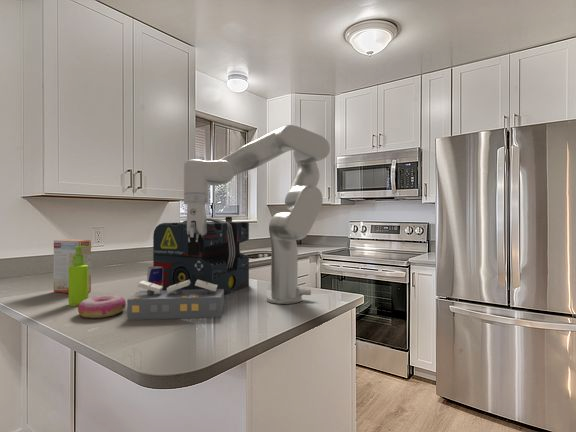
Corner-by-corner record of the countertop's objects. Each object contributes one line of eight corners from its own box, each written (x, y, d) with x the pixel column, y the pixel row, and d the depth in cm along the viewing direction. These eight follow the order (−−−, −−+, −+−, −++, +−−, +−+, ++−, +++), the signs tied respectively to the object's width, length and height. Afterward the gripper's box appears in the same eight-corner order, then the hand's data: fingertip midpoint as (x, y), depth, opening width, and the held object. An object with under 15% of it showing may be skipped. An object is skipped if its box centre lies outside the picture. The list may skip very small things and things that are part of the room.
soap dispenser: (94, 303, 124) (93, 245, 124) (71, 306, 119) (71, 247, 119) (88, 300, 128) (88, 244, 128) (66, 303, 123) (66, 246, 123)
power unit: (152, 293, 140) (152, 217, 140) (196, 281, 165) (196, 216, 165) (212, 300, 129) (212, 217, 129) (249, 286, 154) (249, 216, 154)
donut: (108, 306, 120) (108, 291, 120) (135, 311, 114) (135, 296, 114) (68, 316, 108) (68, 300, 108) (95, 322, 102) (95, 305, 102)
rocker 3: (216, 288, 115) (217, 284, 115) (215, 291, 111) (216, 287, 111) (196, 282, 114) (197, 278, 114) (194, 285, 110) (196, 281, 110)
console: (223, 306, 119) (223, 284, 119) (220, 317, 107) (220, 292, 107) (140, 309, 116) (140, 286, 116) (127, 320, 104) (127, 294, 104)
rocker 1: (162, 290, 113) (163, 285, 113) (158, 292, 109) (160, 288, 109) (141, 284, 112) (142, 279, 112) (137, 286, 108) (139, 282, 109)
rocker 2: (190, 282, 114) (189, 279, 114) (188, 285, 110) (187, 281, 110) (170, 289, 113) (169, 285, 113) (167, 292, 109) (166, 288, 109)
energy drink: (158, 303, 124) (157, 268, 124) (144, 302, 125) (144, 268, 125) (166, 299, 130) (166, 266, 129) (152, 298, 131) (152, 266, 131)
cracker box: (92, 291, 143) (91, 239, 143) (78, 294, 137) (78, 240, 137) (67, 289, 148) (66, 238, 148) (52, 292, 142) (52, 239, 142)
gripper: (204, 198, 104) (204, 256, 104) (211, 200, 122) (211, 250, 122) (178, 198, 104) (178, 257, 104) (189, 200, 121) (189, 251, 121)
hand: (196, 253), depth 113 cm, fingers open, 9 cm apart
